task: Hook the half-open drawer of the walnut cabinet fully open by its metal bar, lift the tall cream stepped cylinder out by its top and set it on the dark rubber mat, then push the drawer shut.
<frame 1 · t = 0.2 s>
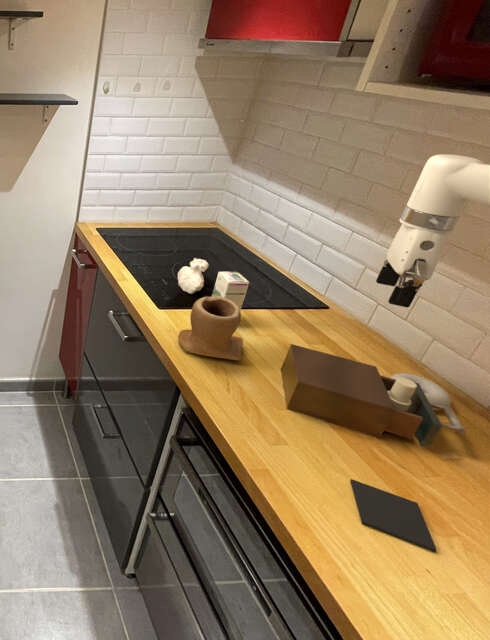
hand: (391, 294, 94), 24 cm above the worktop, tool pointing down, fingers open, 9 cm apart
cabinet: (325, 400, 98), on the worktop
syrup box: (220, 321, 126), on the worktop
white lumpy blob: (189, 288, 143), on the worktop
stone cup: (209, 352, 114), on the worktop
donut: (415, 397, 100), on the worktop
mat: (389, 514, 75), on the worktop
cream stepped cylinder: (390, 412, 93), point 2 cm above the worktop, touching drawer
drawer: (392, 405, 92), point 4 cm above the worktop, slide at 6.0 cm, touching cream stepped cylinder
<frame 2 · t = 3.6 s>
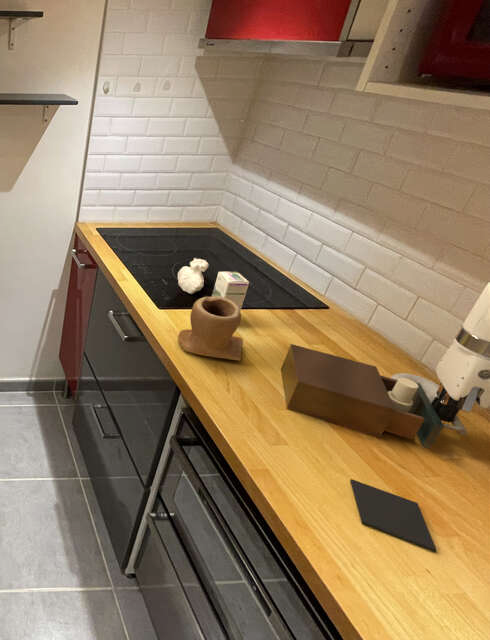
hand: (438, 417, 89), 4 cm above the worktop, tool pointing down, fingers closed
drawer: (394, 405, 92), point 4 cm above the worktop, slide at 6.2 cm, touching gripper, cream stepped cylinder
everything else where it was.
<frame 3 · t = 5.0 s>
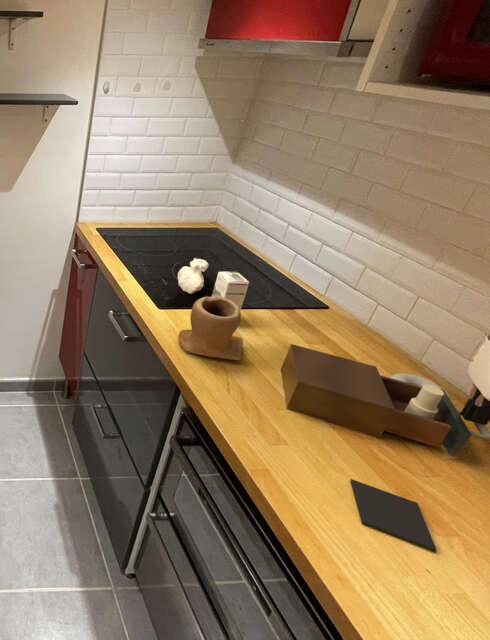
hand: (473, 419, 86), 6 cm above the worktop, tool pointing down, fingers closed
cream stepped cylinder: (415, 419, 91), point 2 cm above the worktop, touching drawer
drawer: (418, 412, 91), point 4 cm above the worktop, slide at 10.0 cm, touching cream stepped cylinder
everything else where it was.
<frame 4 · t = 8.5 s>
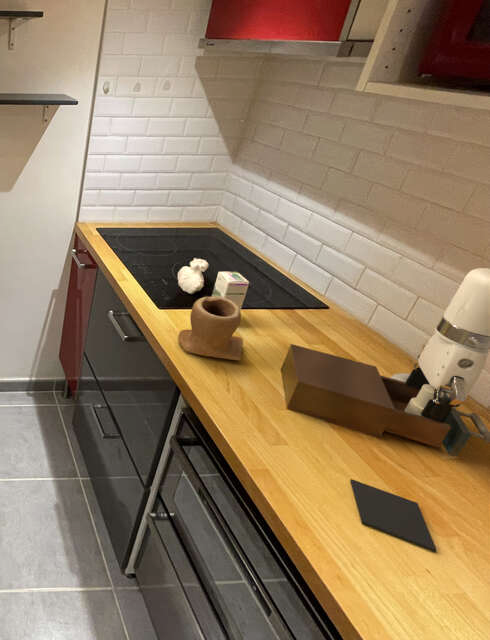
hand: (422, 402, 90), 6 cm above the worktop, tool pointing down, fingers open, 9 cm apart
cream stepped cylinder: (415, 419, 91), point 2 cm above the worktop
drawer: (418, 412, 91), point 4 cm above the worktop, slide at 10.0 cm, touching gripper
everything else where it was.
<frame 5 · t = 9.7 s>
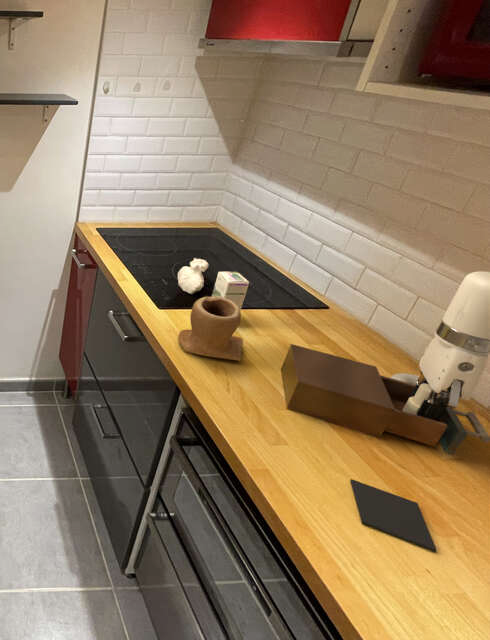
hand: (422, 409, 90), 5 cm above the worktop, tool pointing down, fingers closed on cream stepped cylinder, 4 cm apart
cream stepped cylinder: (413, 418, 91), point 2 cm above the worktop, touching gripper
drawer: (414, 411, 91), point 4 cm above the worktop, slide at 9.5 cm
everything else where it was.
when the fingers open (3 cm above the worktop, at t = 16.9 s): cream stepped cylinder stays where it is, resting on mat.
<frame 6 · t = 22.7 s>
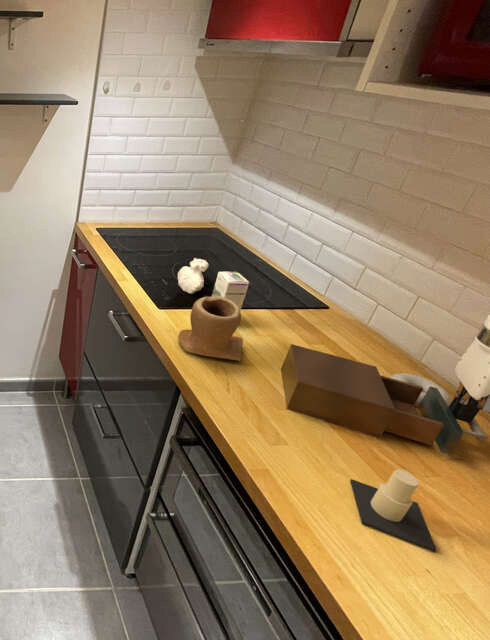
hand: (457, 417, 88), 5 cm above the worktop, tool pointing down, fingers closed
cream stepped cylinder: (385, 510, 75), point 1 cm above the worktop, touching mat
drawer: (411, 410, 91), point 4 cm above the worktop, slide at 8.9 cm
everything else where it was.
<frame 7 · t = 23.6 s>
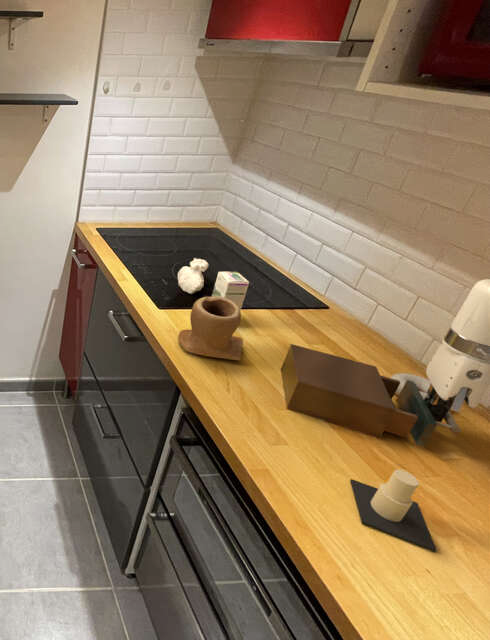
hand: (428, 417, 90), 3 cm above the worktop, tool pointing down, fingers closed
drawer: (388, 403, 93), point 4 cm above the worktop, slide at 5.3 cm, touching gripper
everything else where it was.
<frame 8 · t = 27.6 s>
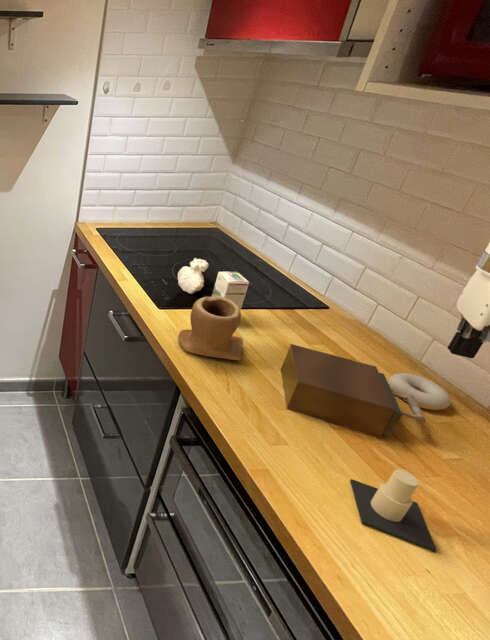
hand: (459, 353, 84), 19 cm above the worktop, tool pointing down, fingers closed
drawer: (357, 395, 95), point 4 cm above the worktop, slide at 0.3 cm
everything else where it was.
at the end: cream stepped cylinder inside the target area on the mat (0.6 cm from its centre), point 0.6 cm above the mat's base; drawer pulled out 10.1 cm at the most during the clip, back to 0.3 cm at the end; drawer slide at 0.3 cm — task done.
